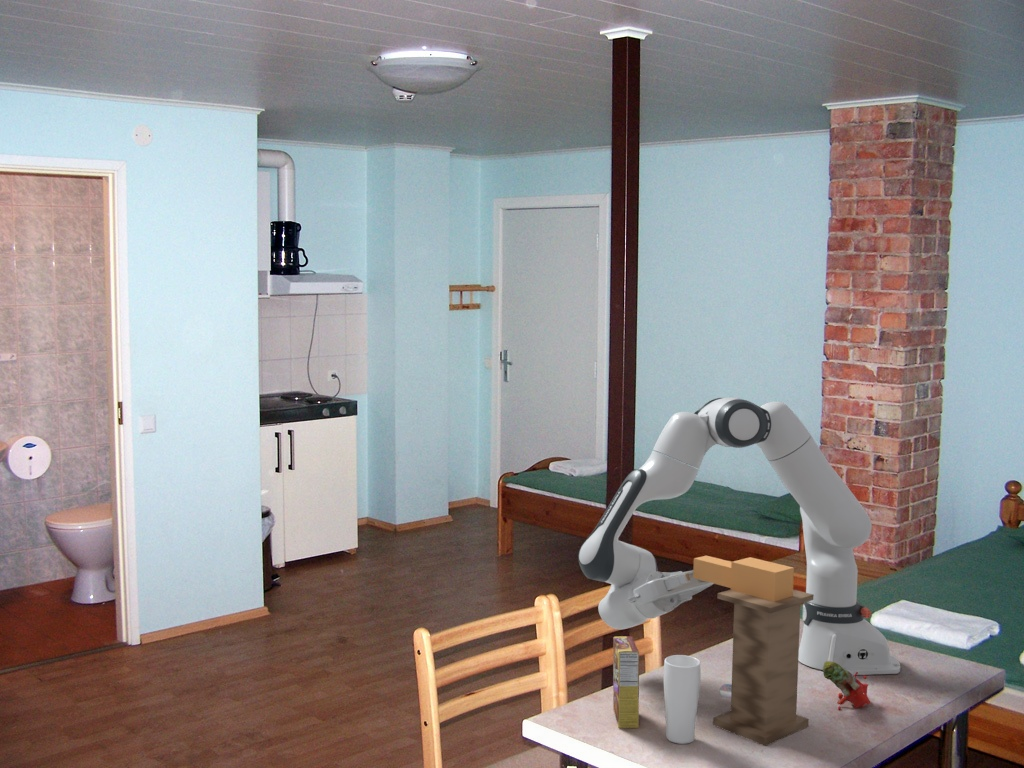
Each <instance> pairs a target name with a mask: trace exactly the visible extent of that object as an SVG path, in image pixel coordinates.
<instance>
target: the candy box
mask: <svg viewBox="0 0 1024 768" xmlns="http://www.w3.org/2000/svg"><path fill="white" fill-rule="evenodd" d="M612 638H613V640H612V641H613V642H612V644H613V645H612V646H613V647H612V654H613V657H612V658H613V659H612V660H613V662H612V664H613V665H612V668H613V670H612V671H613V673H612V674H613V675H612V676H613V677H612V681H613V682H612V686H613V687H612V690H613V691H612V695H613V698H612V699H613V700H612V701H613V703H612V705H613V707H612V708H613V713H614V717H615V720H616V723H617V728H618V729H639V724H640V723H639V722H640V721H639V719H640V718H639V711H640V705H639V704H640V703H639V702H640V699H639V698H640V695H639V694H640V692H639V691H640V651H639V649H638V647H637V645H636V642H635V640H634V637H633V636H626V635H625V636H623V635H621V636H620V635H619V636H613V637H612Z"/></svg>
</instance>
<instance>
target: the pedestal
mask: <svg viewBox="0 0 1024 768" xmlns="http://www.w3.org/2000/svg"><path fill="white" fill-rule="evenodd" d="M813 597H814V595H813V594H809V593H806V591H801V590H797V589H794V588H793V596H791V597H788V598H785V599H781V600H778V601H775V602H774V601H770V600H766V599H763V598H759V597H755V596H752V595H748V594H744V593H741V592H737V591H733V590H731V589H728V590H725V591H721V592H718V593H717V597H716V599H718V600H722V601H724V602H725V601H726V602H729V603H732V604H733V629H732V632H733V633H732V634H733V635H732V638H733V639H732V661H731V663H732V664H731V668H732V669H731V689H730V690H731V693H730V694H731V695H730V710H729V711H726V712H723V713H721V714H719V715H717V716H715V717H713V722H712V723H713V726H714V725H715V727H717V726H718V727H717V728H719V727H720V728H719V729H722V728H723V729H722V730H724V729H725V730H724V731H727V732H729V731H730V733H733V734H734V733H735V735H737V736H739V735H740V736H739V737H742V738H744V739H746V740H749V741H751V742H755V743H757V744H759V745H762V746H765V747H767V746H769V745H771V744H773V743H776V742H778V741H779V740H782V739H785V738H787V737H789V736H790V735H793V734H795V733H798V732H799V731H801V730H804V729H806V728H808V727H809V723H810V722H809V721H810V719H809V718H807V717H805V716H802V715H799V714H797V707H798V706H797V704H798V682H799V678H798V677H799V661H798V656H799V646H800V629H801V628H800V626H801V625H800V622H801V605H803V604H804V603H805V602H808V601H811V600H813Z"/></svg>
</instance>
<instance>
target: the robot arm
mask: <svg viewBox="0 0 1024 768" xmlns="http://www.w3.org/2000/svg"><path fill="white" fill-rule="evenodd" d="M715 445H719V446H722V447H726V448H739V449H740V448H747V447H750V446H754V445H757V446H758V448H760V449H761V451H762V453H763V455H764V456H765V458H766V459H767V461H768V463H769V464H770V465H771V467H772V469H773V470H774V471H775V473H776V475H777V476H778V478H779V480H780V481H781V483H782V485H784V487H785V488H786V490H787V491H788V492H789V493H790V495H791V496H792V497H793V499H794V500H795V502H797V504H798V505H799V513H800V516H801V520H802V521H801V522H802V531H803V542H804V549H805V556H806V560H805V561H806V582H805V586H806V587H805V588H806V589H805V593H809V594H813V595H814V597H813V600H811V601H808V602H805V603H802V623H803V626H802V633H801V639H800V642H799V656H798V662H799V663H801V664H803V665H805V666H808V667H810V668H813V669H816V670H820V671H823V666H824V663H825V662H827V661H830V662H835V663H837V664H839V665H840V666H841V667H842V668H843V669H844V670H847V671H849V672H850V673H851V674H852V675H855V674H856V672H858V674H857V675H856V676H858V675H861V676H864V675H865V676H868V675H896V674H899V673H900V672H901V664H900V662H899V660H898V659H897V658H896V656H894V655H892V654H891V651H890V645H889V642H888V640H887V638H886V636H885V635H884V633H882V632H881V631H880V630H878V628H876V627H875V626H874V625H872V624H871V623H870V622H869V621H867V620H866V619H869V618H870V617H871V616H872V611H871V610H870V609H869V608H868V607H865V605H863V604H862V603H860V602H859V601H858V600H857V596H858V595H857V594H858V574H859V573H858V572H859V571H858V565H857V563H856V559H855V555H854V549H855V548H858V547H861V546H862V545H863V544H864V543H866V542H867V541H868V539H869V538H870V536H871V532H872V530H873V529H872V527H873V526H872V520H871V517H870V516H869V514H868V513H867V510H865V508H864V507H863V505H862V504H861V503H860V502H859V500H858V498H857V497H856V496H855V494H854V493H853V492H852V490H850V488H849V487H848V486H847V484H846V483H845V482H844V480H843V479H842V478H841V477H840V475H839V474H838V472H837V471H836V470H835V469H834V468H833V466H832V465H831V464H830V462H829V461H828V459H827V458H826V456H825V455H824V453H823V452H822V450H821V448H820V447H819V445H818V444H817V443H816V441H815V439H814V438H813V435H812V434H811V433H810V431H809V430H808V428H807V427H806V426H805V424H804V423H803V422H802V421H801V420H800V418H799V417H798V416H797V414H796V413H794V411H793V410H792V409H791V408H790V407H789V406H788V405H787V404H786V403H784V402H781V401H777V400H776V401H769V402H767V403H764V404H762V405H761V406H758V405H757V404H755V403H753V402H751V401H750V400H746V399H742V398H737V397H731V396H729V397H718V398H713V399H710V400H709V401H708V402H706V403H705V404H703V405H702V406H701V407H700V408H698V410H696V411H695V412H691V411H678V412H676V413H673V414H672V415H671V416H670V418H669V420H668V421H667V422H666V424H665V426H664V427H663V429H662V431H661V432H660V434H659V436H658V438H657V440H656V442H655V444H654V446H653V448H652V450H651V453H650V455H649V456H648V458H647V460H646V461H645V462H644V464H643V465H641V466H640V467H639V468H638V469H635V470H634V469H633V470H632V471H631V472H630V473H628V475H627V476H626V478H624V480H623V482H622V483H621V485H620V486H619V488H618V489H617V491H616V492H615V494H614V496H613V498H612V499H611V501H610V503H609V504H608V506H607V507H606V509H605V511H604V512H603V515H602V516H601V518H600V519H599V521H598V522H597V524H596V526H595V527H594V529H593V530H592V532H591V533H590V534H589V535H588V536H587V537H586V539H585V540H584V541H583V543H582V544H581V546H580V548H579V551H578V555H577V559H578V564H579V567H580V569H581V571H582V573H583V575H584V576H585V577H586V578H587V579H589V580H593V581H598V582H600V583H601V582H603V583H606V584H610V588H609V590H608V592H607V594H606V595H605V596H604V597H603V598H602V599H601V600H600V602H599V603H598V607H597V608H598V609H597V610H598V613H599V616H600V618H601V620H602V621H603V622H604V623H605V625H607V626H608V627H610V628H612V629H615V630H626V629H630V628H633V627H636V626H639V625H641V624H644V623H646V622H647V621H648V620H649V619H656V618H658V617H660V616H663V615H665V614H668V613H670V612H672V611H673V610H674V609H676V608H677V607H679V606H680V605H681V604H683V603H687V602H688V601H691V600H692V599H693V596H694V595H697V594H698V593H700V592H702V591H704V590H706V589H707V588H709V587H711V586H713V585H715V584H714V583H710V582H706V581H703V580H699V579H695V578H693V569H692V570H687V571H682V570H680V571H679V570H678V571H671V572H666V571H663V572H661V571H659V570H658V569H659V568H658V565H657V564H658V563H657V560H656V558H655V555H654V554H653V553H652V552H650V551H649V550H647V549H645V548H643V547H640V546H637V545H634V544H630V543H627V542H625V541H621V540H619V538H620V536H621V535H622V533H623V532H624V529H625V528H626V525H628V522H629V521H630V519H631V517H632V516H633V514H634V513H635V511H636V509H637V508H639V506H641V505H642V504H645V503H647V502H650V501H654V500H655V501H657V500H670V499H675V498H677V497H680V496H681V495H682V496H683V495H684V494H686V493H687V492H689V490H690V488H691V487H692V486H693V484H694V481H695V480H696V478H697V475H698V472H699V470H700V467H701V465H702V463H703V459H704V457H705V456H706V454H707V452H708V451H709V450H710V449H711V448H712V447H713V446H715Z"/></svg>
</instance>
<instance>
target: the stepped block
mask: <svg viewBox="0 0 1024 768" xmlns="http://www.w3.org/2000/svg"><path fill="white" fill-rule="evenodd" d="M692 568H693V569H692V570H693V578H695V579H699V580H703V581H706V582H710V583H714V584H713V585H718V586H722V587H726V588H730V590H733V591H737V592H741V593H744V594H748V595H752V596H755V597H759V598H763V599H766V600H770V601H774V602H775V601H778V600H781V599H785V598H788V597H791V596H793V589H794V577H795V576H794V574H795V573H794V572H795V568H794V567H792V566H788V565H784V564H779V563H776V562H772V561H767V560H763V559H759V558H755V557H751V556H750V557H746V558H741V559H739V560H738V559H737V560H734V561H731V560H725V559H722V558H718V557H714V556H709V555H704V556H703V555H702V556H699V557H694V558H693V567H692Z"/></svg>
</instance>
